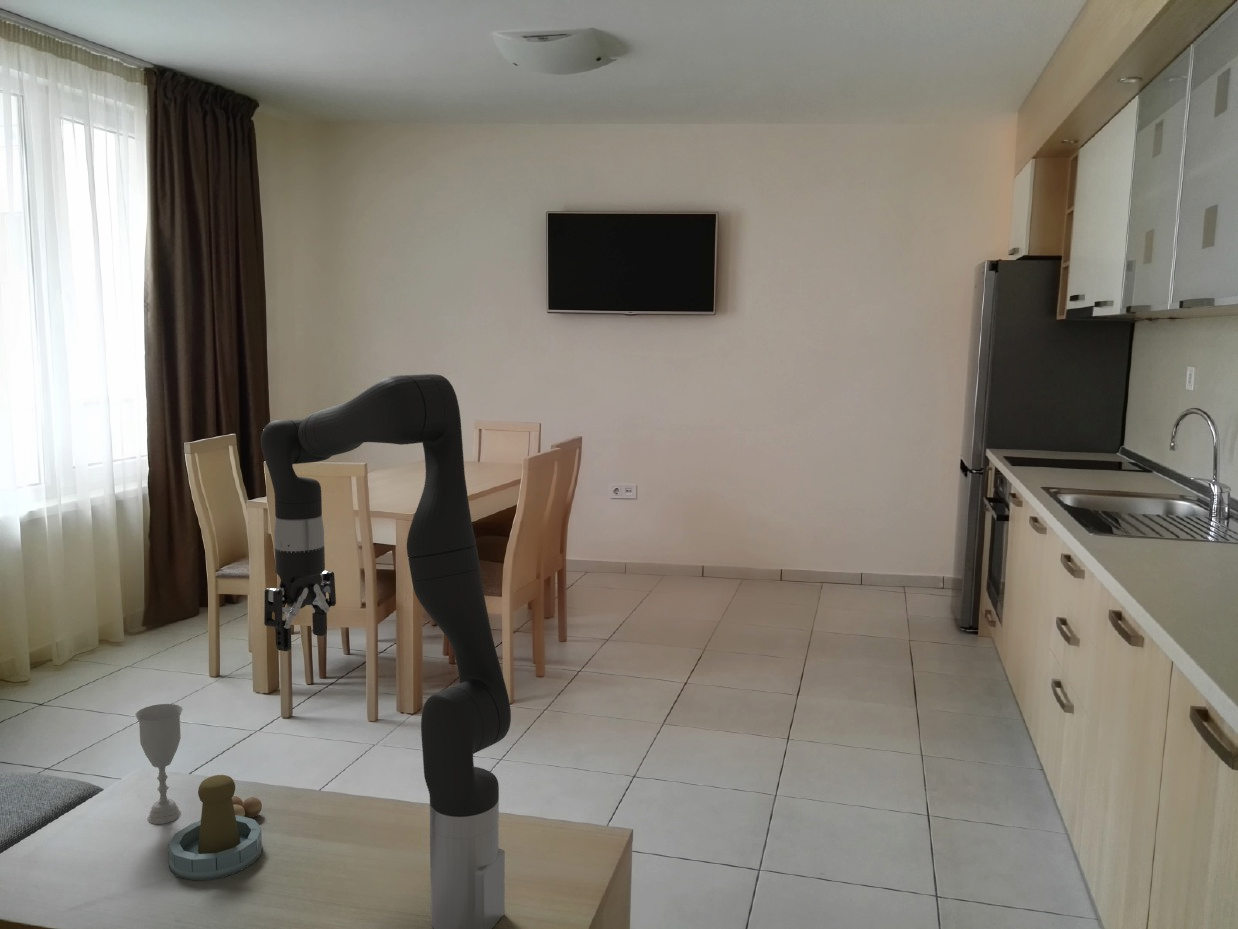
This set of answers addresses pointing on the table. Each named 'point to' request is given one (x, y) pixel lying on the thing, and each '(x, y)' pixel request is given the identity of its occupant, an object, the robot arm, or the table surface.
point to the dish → (213, 865)
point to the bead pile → (247, 806)
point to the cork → (217, 815)
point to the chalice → (161, 752)
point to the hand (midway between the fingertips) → (302, 642)
